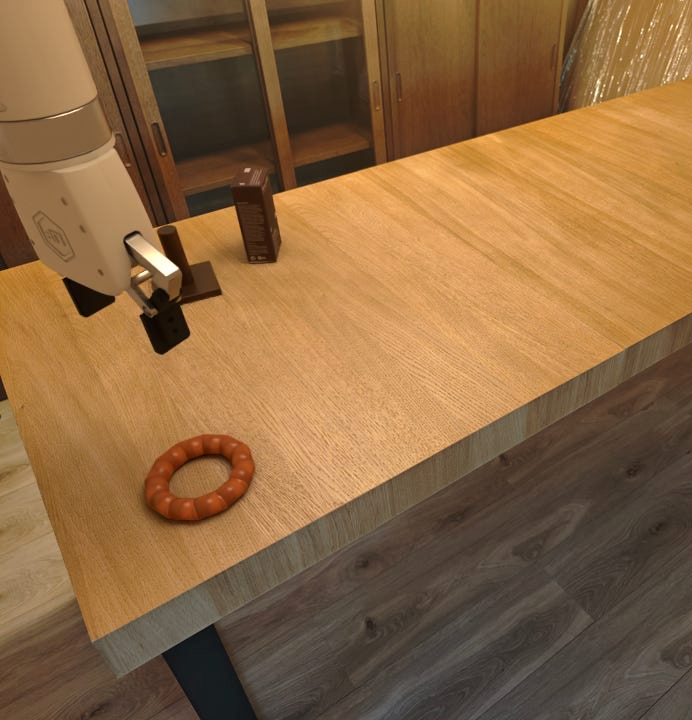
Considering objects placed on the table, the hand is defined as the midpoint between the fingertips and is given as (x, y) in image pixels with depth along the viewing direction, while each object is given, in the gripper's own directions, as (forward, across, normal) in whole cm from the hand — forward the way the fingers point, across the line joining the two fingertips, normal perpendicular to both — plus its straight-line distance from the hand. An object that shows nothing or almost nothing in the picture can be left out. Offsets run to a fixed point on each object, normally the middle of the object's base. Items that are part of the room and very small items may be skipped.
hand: (135, 326), depth 55 cm
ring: (+16, +4, -2) cm, 16 cm away
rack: (+17, -25, +20) cm, 36 cm away
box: (+17, -22, +33) cm, 43 cm away
